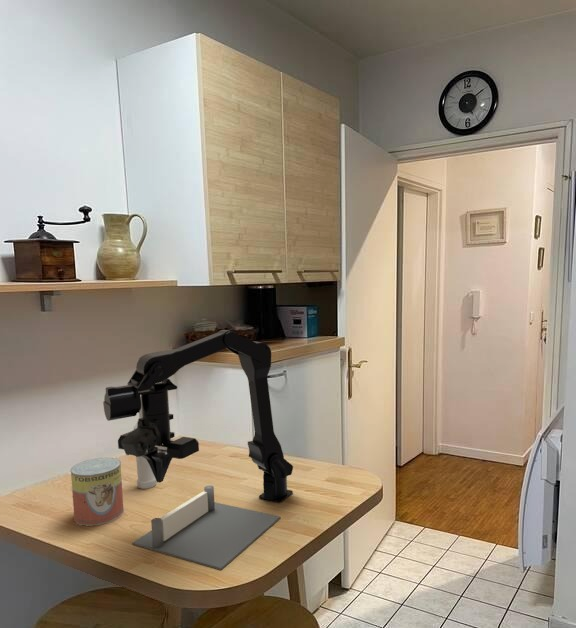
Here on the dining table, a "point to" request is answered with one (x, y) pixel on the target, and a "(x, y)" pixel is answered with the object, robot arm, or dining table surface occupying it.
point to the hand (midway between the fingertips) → (159, 481)
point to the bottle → (144, 468)
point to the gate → (187, 512)
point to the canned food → (97, 491)
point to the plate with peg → (211, 535)
